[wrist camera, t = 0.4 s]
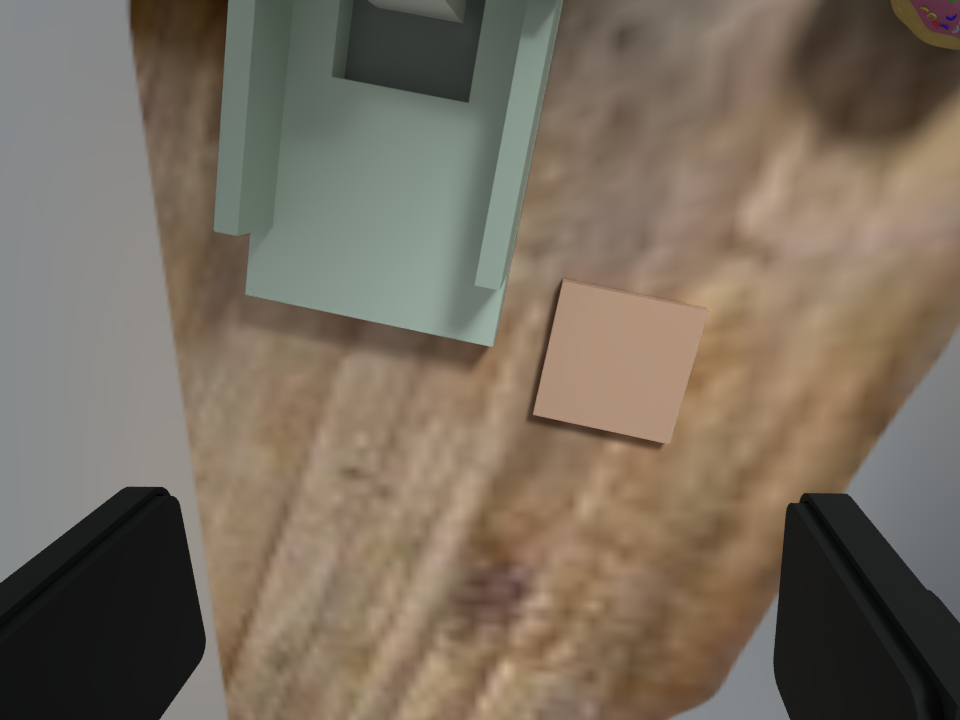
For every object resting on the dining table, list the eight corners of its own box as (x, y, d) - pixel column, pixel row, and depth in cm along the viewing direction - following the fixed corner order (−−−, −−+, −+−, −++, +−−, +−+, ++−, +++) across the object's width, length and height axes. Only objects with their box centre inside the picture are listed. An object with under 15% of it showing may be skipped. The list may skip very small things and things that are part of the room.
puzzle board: (311, -245, 33) (250, -341, 26) (603, -197, 32) (612, -283, 26) (263, 286, 41) (208, 311, 34) (496, 335, 40) (483, 370, 34)
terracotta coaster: (563, 278, 39) (563, 280, 38) (705, 307, 38) (708, 311, 37) (533, 409, 41) (533, 414, 40) (667, 438, 41) (669, 444, 40)
